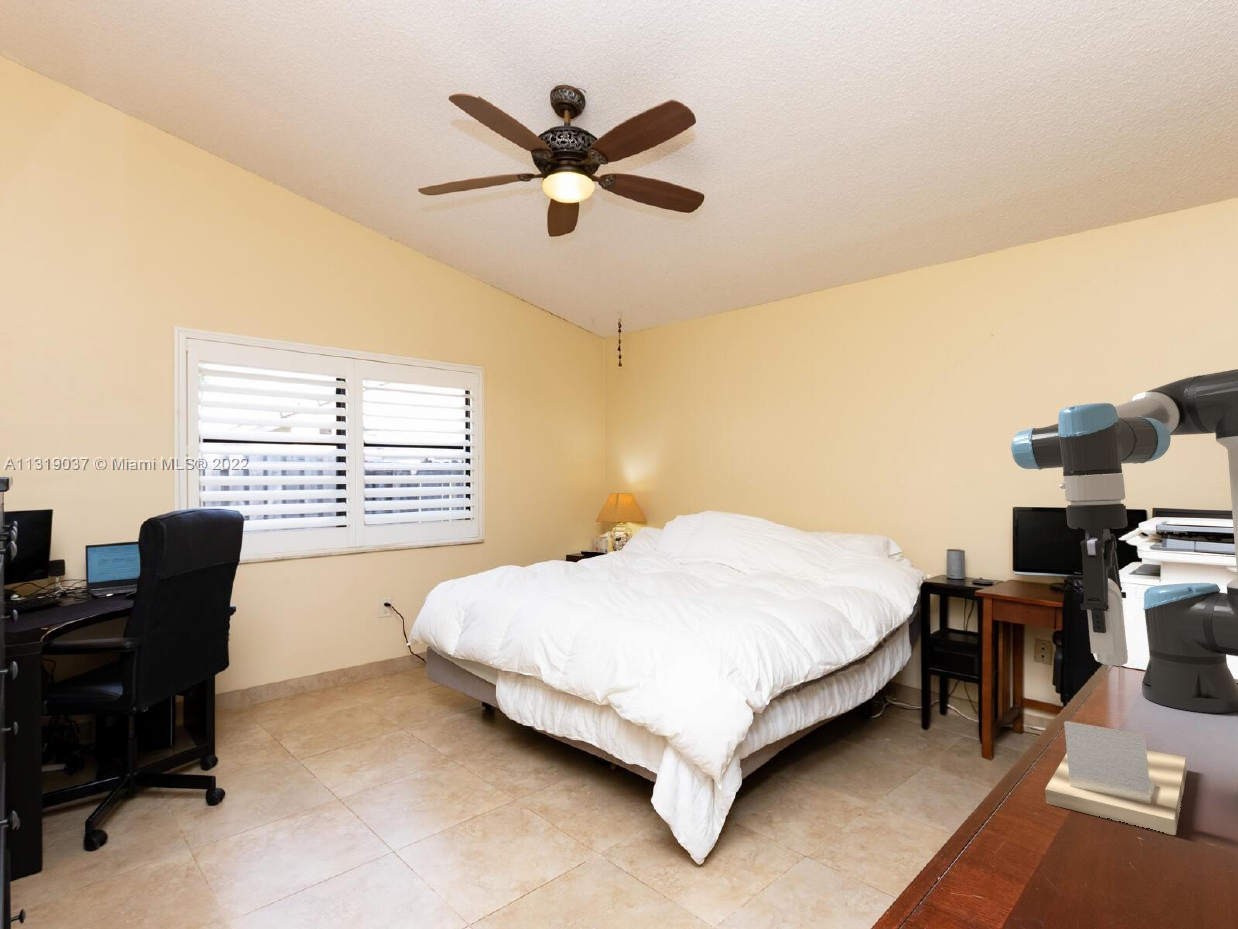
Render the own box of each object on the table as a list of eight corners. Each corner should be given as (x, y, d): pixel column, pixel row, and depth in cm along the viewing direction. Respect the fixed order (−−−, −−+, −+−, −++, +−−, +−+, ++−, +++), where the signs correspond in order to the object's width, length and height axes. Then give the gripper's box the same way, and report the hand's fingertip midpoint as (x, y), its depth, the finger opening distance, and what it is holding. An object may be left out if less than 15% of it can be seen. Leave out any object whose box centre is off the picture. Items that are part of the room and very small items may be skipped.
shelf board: (1077, 748, 108) (1076, 737, 108) (1187, 770, 98) (1185, 757, 98) (1046, 803, 91) (1045, 789, 91) (1175, 835, 81) (1173, 819, 81)
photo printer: (1089, 649, 103) (1082, 573, 104) (1123, 651, 101) (1115, 573, 102) (1094, 665, 95) (1086, 582, 95) (1130, 668, 92) (1122, 582, 93)
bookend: (1079, 769, 96) (1073, 709, 97) (1156, 785, 90) (1149, 721, 90) (1070, 786, 91) (1064, 723, 92) (1150, 805, 85) (1144, 736, 85)
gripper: (1079, 500, 110) (1091, 630, 109) (1050, 507, 94) (1064, 659, 92) (1134, 498, 104) (1148, 635, 103) (1114, 505, 88) (1129, 666, 87)
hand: (1108, 646), depth 98 cm, fingers closed on photo printer, 10 cm apart
